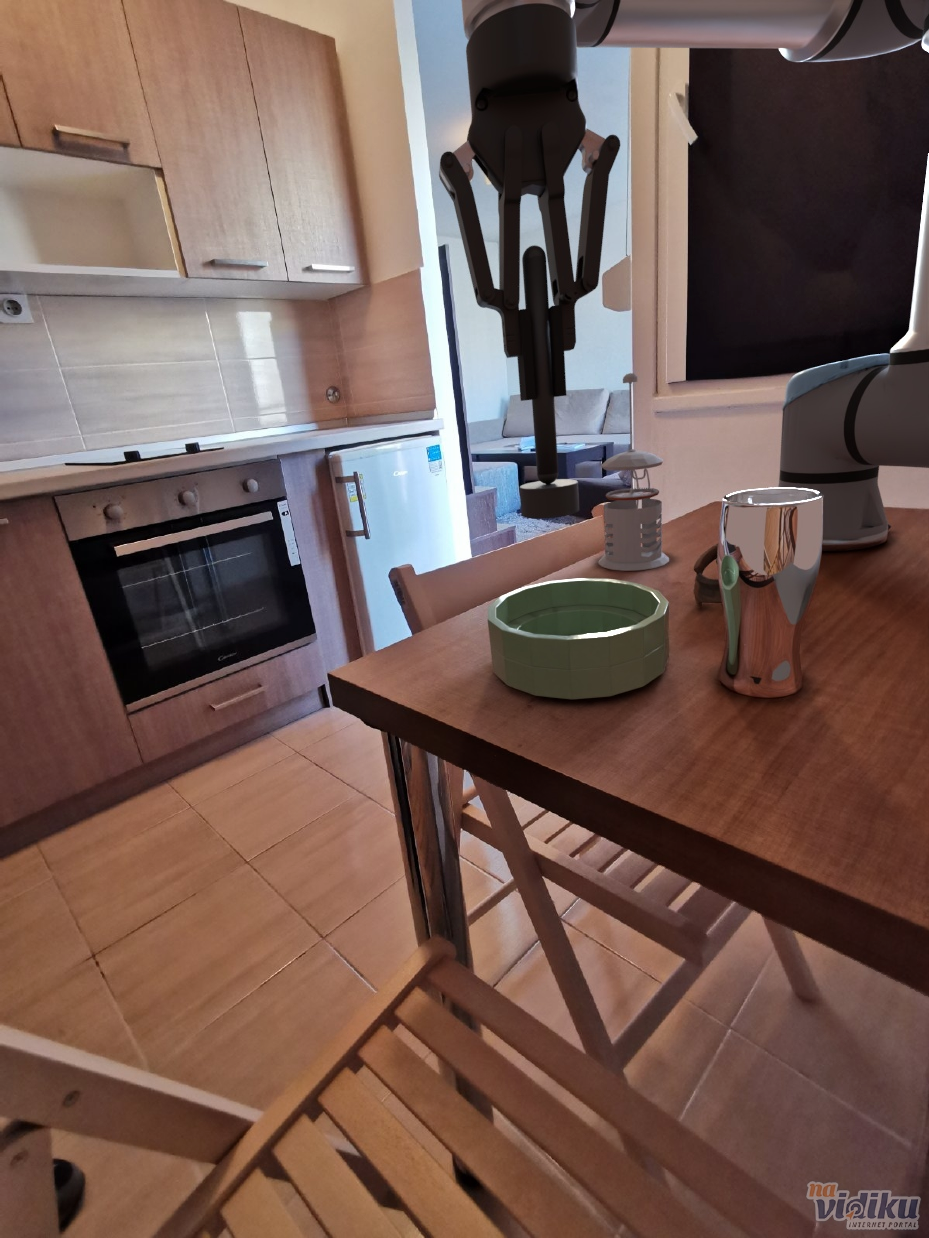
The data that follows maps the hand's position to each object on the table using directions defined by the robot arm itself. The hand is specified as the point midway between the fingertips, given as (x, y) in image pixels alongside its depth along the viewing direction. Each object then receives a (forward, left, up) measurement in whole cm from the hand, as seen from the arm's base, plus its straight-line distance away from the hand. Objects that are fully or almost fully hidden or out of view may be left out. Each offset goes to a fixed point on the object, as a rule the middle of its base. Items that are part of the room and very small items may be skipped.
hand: (542, 397), depth 48 cm
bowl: (-2, +1, -24) cm, 24 cm away
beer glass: (-17, +1, -24) cm, 29 cm away
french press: (-1, -35, -24) cm, 42 cm away
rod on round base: (0, 0, -9) cm, 9 cm away
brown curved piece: (-15, -18, -24) cm, 33 cm away
